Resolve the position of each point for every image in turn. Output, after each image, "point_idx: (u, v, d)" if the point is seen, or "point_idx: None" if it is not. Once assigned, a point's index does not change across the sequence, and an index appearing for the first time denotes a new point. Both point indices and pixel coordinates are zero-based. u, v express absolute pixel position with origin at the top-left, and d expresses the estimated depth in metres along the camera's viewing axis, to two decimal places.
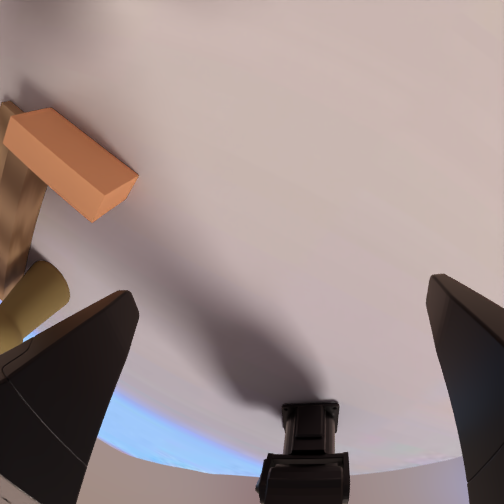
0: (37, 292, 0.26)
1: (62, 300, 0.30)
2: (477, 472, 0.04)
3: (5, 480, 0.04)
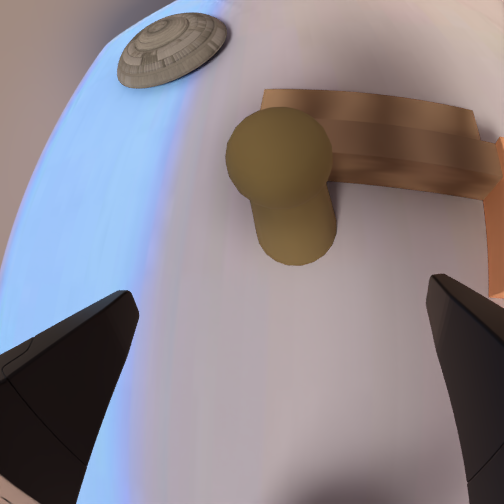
0: (328, 216, 0.19)
1: (302, 257, 0.22)
2: (477, 472, 0.04)
3: (5, 480, 0.04)
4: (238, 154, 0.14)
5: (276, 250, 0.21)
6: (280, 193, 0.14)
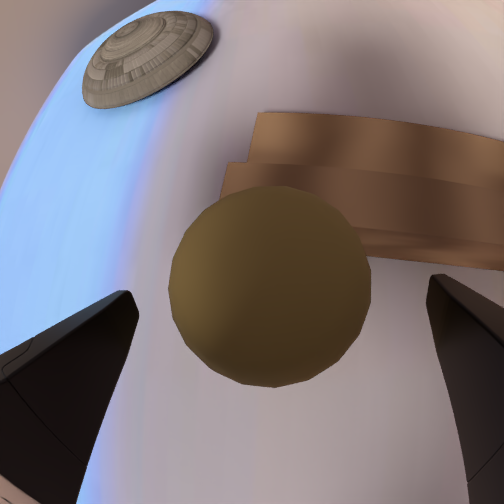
0: None
1: None
2: (477, 472, 0.04)
3: (5, 480, 0.04)
4: (186, 303, 0.07)
5: None
6: (265, 384, 0.07)
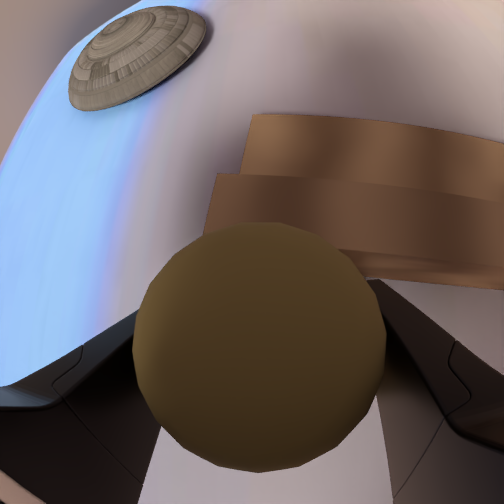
0: None
1: None
2: (398, 491, 0.05)
3: None
4: (151, 381, 0.05)
5: None
6: (251, 471, 0.05)
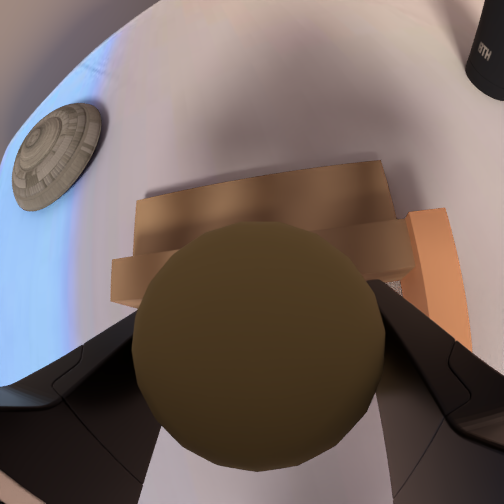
0: None
1: None
2: (399, 490, 0.05)
3: None
4: (150, 380, 0.05)
5: None
6: (250, 470, 0.05)
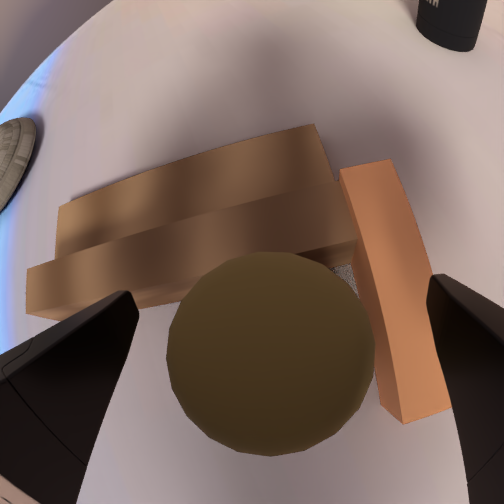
0: None
1: None
2: (476, 472, 0.04)
3: (5, 480, 0.04)
4: (185, 383, 0.06)
5: None
6: (265, 455, 0.06)
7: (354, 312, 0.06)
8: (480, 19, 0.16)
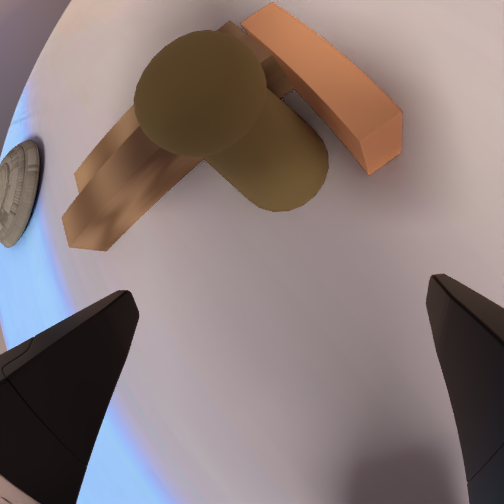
0: (303, 135, 0.15)
1: (298, 195, 0.17)
2: (476, 472, 0.04)
3: (5, 480, 0.04)
4: (143, 111, 0.10)
5: (264, 199, 0.17)
6: (205, 130, 0.10)
7: (218, 32, 0.09)
8: None
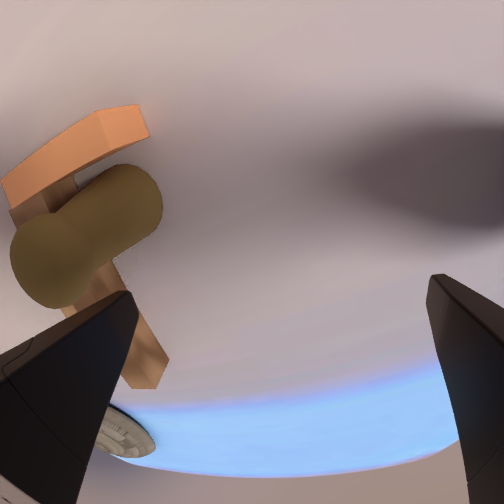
0: (103, 186, 0.18)
1: (150, 197, 0.21)
2: (476, 472, 0.04)
3: (5, 480, 0.04)
4: (53, 303, 0.14)
5: (146, 225, 0.21)
6: (73, 266, 0.14)
7: (13, 240, 0.13)
8: None
